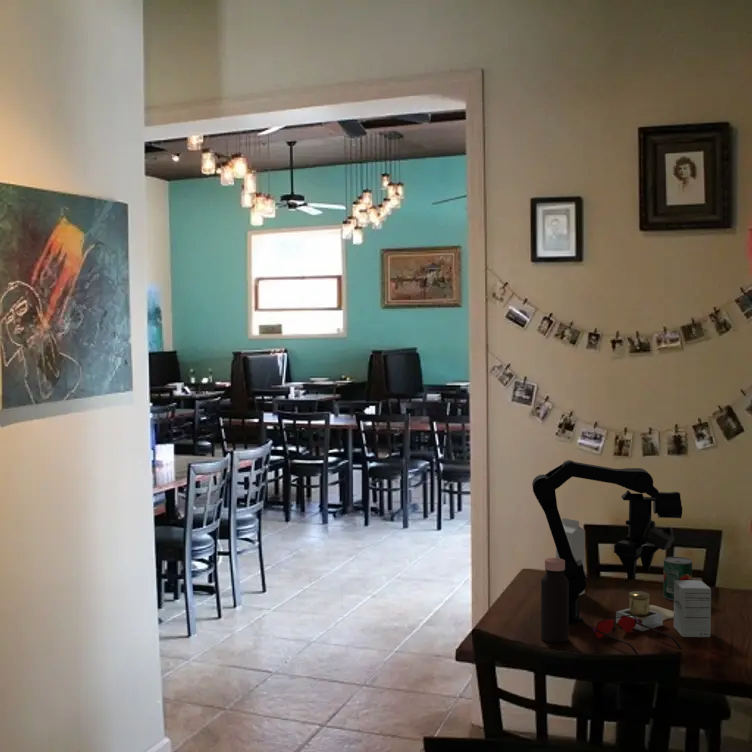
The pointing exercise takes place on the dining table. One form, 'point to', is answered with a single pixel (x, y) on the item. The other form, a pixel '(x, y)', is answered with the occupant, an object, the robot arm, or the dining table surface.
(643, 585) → the dining table surface
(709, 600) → the supplement box
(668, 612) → the coaster
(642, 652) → the dining table surface
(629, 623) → the glasses
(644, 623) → the housing
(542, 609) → the bottle
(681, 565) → the canned tomato
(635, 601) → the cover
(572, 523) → the milk
